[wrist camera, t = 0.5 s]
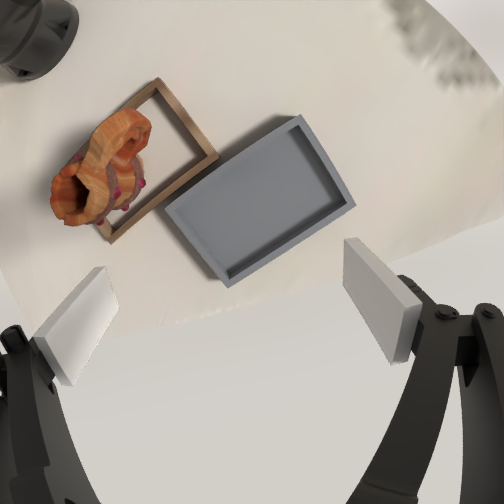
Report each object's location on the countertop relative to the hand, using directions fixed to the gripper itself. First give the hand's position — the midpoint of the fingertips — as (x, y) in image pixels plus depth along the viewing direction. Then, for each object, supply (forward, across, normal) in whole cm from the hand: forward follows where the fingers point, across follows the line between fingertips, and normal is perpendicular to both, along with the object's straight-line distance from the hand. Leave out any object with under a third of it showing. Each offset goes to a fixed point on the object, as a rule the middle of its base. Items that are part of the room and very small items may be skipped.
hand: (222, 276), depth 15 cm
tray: (+25, +3, -2) cm, 25 cm away
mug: (+26, -13, +6) cm, 29 cm away
